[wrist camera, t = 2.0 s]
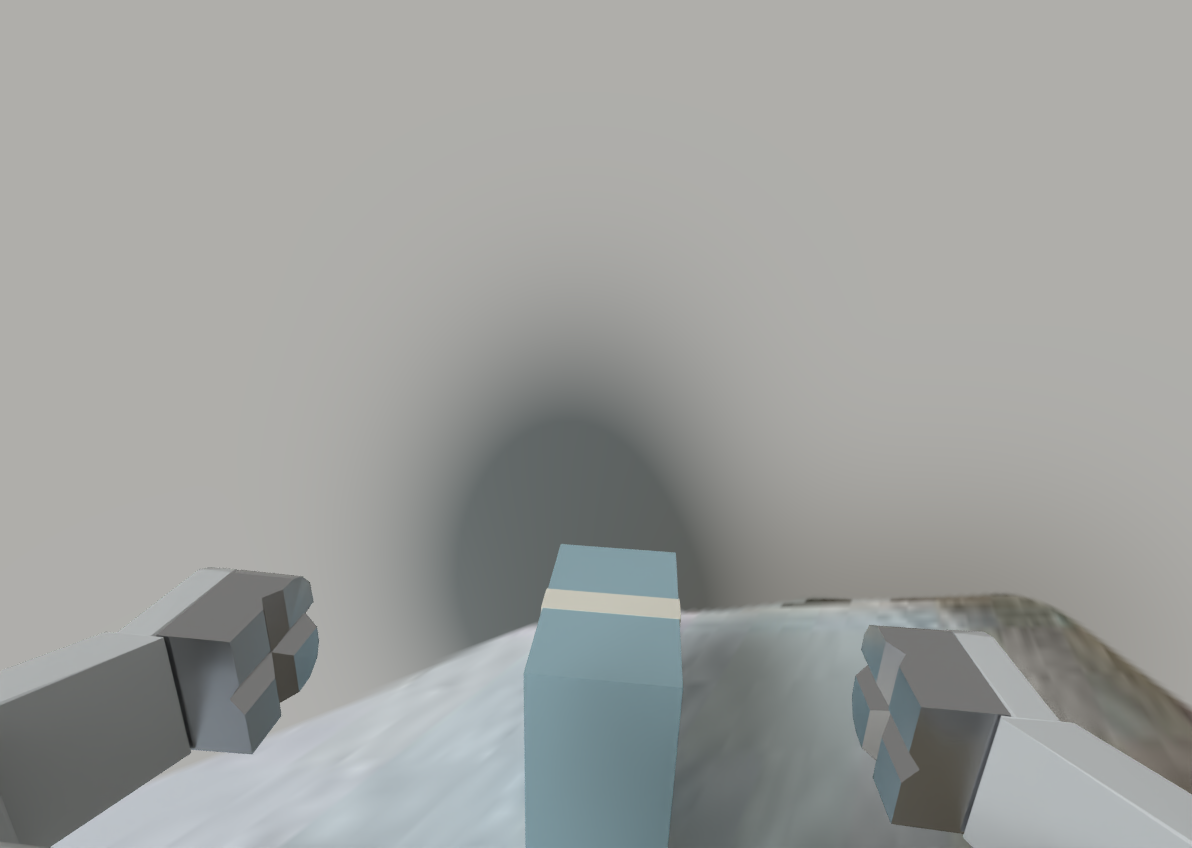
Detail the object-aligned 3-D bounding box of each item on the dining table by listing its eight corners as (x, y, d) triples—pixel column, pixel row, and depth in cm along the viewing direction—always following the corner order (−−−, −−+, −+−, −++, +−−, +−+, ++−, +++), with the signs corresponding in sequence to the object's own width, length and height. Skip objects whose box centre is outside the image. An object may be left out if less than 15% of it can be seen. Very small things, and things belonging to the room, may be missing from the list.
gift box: (658, 764, 31) (676, 552, 27) (659, 945, 23) (684, 687, 19) (557, 754, 31) (559, 543, 27) (525, 928, 23) (522, 672, 19)
